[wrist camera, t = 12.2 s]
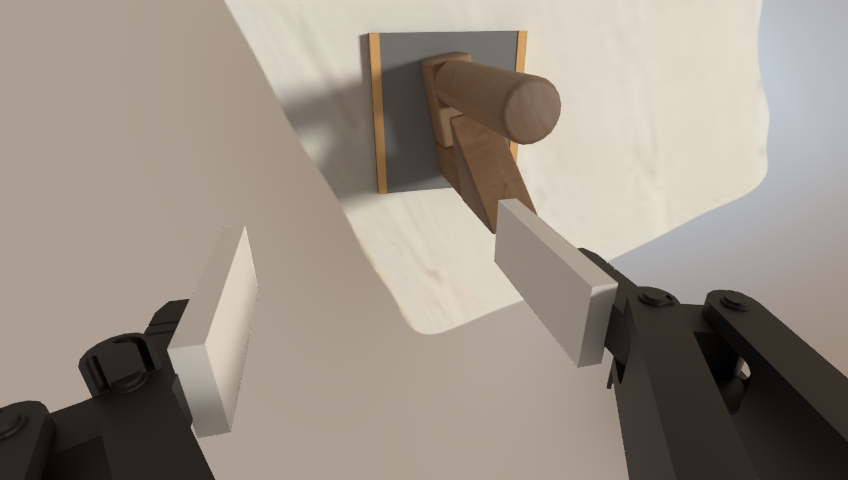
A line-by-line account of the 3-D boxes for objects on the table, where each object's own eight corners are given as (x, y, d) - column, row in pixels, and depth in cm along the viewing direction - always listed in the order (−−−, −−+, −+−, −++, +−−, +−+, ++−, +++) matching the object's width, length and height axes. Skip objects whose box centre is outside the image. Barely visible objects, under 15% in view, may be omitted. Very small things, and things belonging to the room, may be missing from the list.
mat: (368, 33, 37) (369, 33, 36) (523, 30, 39) (527, 30, 39) (378, 191, 43) (379, 194, 42) (512, 180, 45) (514, 182, 45)
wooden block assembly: (440, 175, 43) (515, 262, 27) (418, 59, 38) (494, 82, 22) (475, 166, 43) (570, 245, 27) (458, 50, 38) (561, 65, 22)
